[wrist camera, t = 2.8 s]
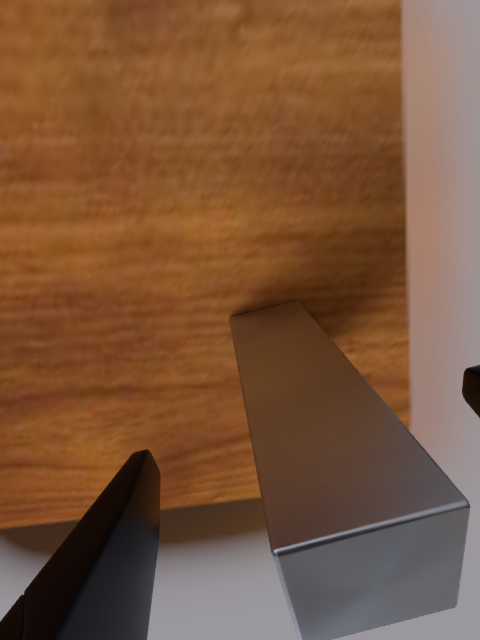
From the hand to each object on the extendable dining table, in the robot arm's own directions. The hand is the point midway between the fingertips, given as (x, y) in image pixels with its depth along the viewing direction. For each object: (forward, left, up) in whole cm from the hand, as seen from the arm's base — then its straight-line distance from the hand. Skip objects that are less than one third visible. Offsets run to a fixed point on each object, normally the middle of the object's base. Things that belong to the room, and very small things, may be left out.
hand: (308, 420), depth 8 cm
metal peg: (0, 0, -5) cm, 5 cm away
